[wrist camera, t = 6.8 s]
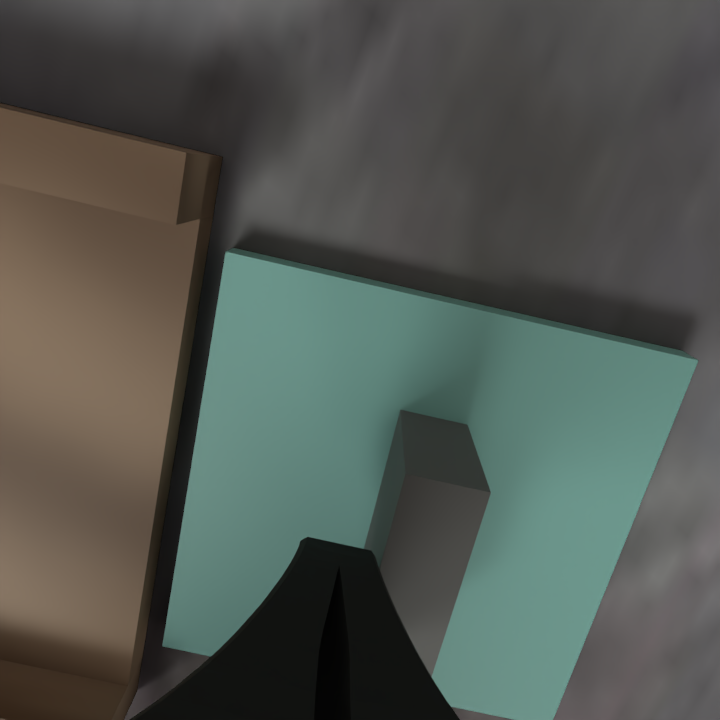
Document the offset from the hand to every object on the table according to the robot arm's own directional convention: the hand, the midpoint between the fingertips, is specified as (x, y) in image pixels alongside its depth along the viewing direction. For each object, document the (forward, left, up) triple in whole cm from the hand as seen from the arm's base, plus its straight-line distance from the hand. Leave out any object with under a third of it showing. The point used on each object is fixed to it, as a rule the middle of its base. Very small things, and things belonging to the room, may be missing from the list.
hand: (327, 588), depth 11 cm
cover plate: (0, -2, -4) cm, 4 cm away
